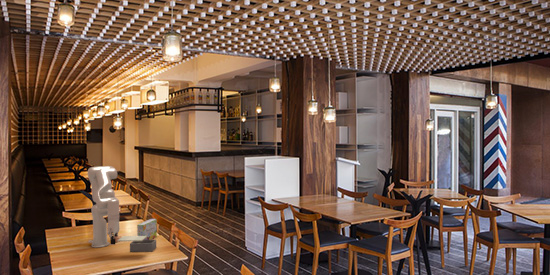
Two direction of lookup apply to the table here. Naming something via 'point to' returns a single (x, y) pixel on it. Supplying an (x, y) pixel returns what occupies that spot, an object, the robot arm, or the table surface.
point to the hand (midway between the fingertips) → (114, 243)
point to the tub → (143, 246)
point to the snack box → (148, 229)
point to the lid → (129, 238)
